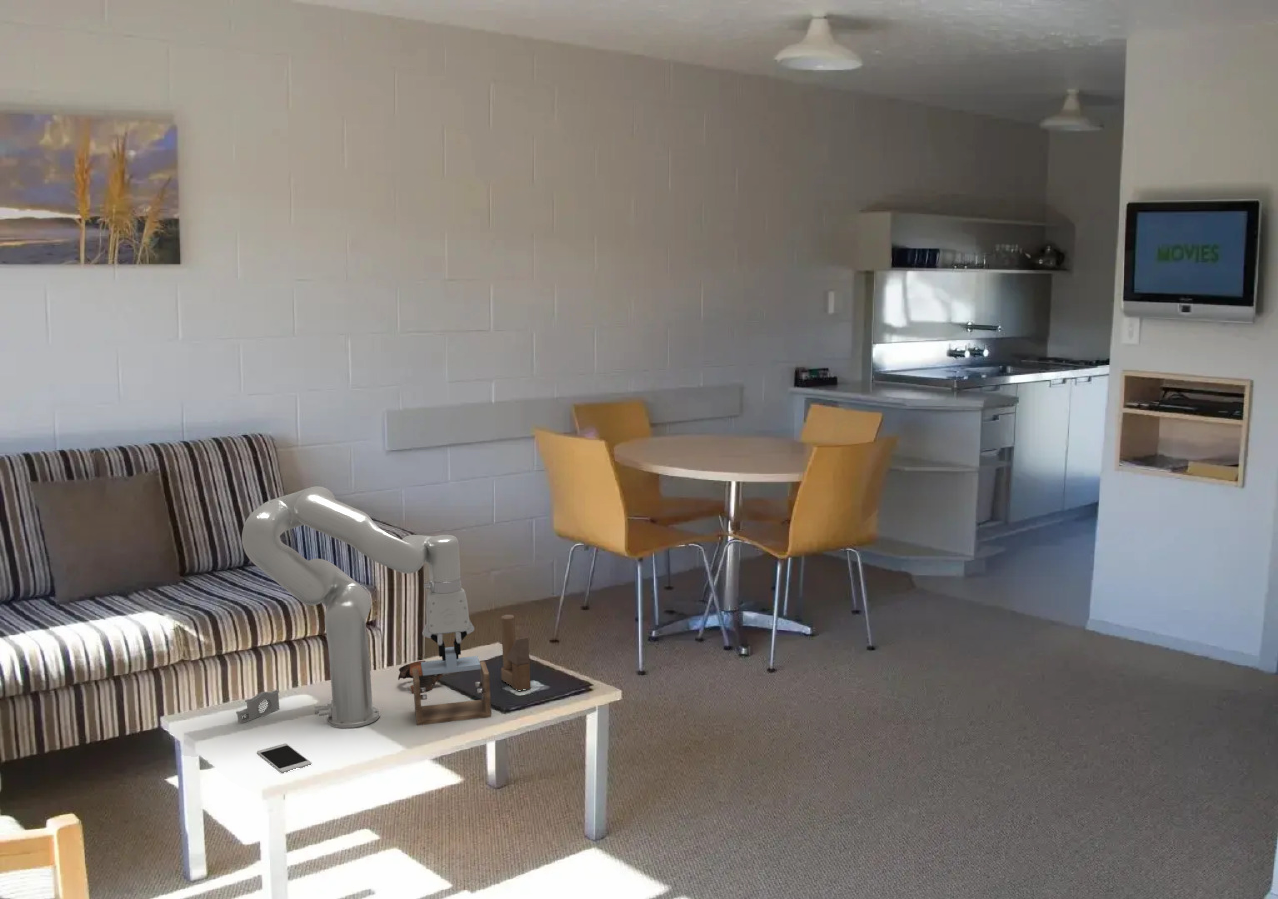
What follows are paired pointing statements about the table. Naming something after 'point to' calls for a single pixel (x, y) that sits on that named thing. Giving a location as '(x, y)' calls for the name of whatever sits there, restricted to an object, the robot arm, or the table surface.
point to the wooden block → (514, 656)
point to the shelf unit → (453, 709)
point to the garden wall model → (254, 706)
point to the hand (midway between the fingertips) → (450, 657)
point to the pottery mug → (425, 680)
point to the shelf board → (450, 664)
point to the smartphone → (284, 758)
